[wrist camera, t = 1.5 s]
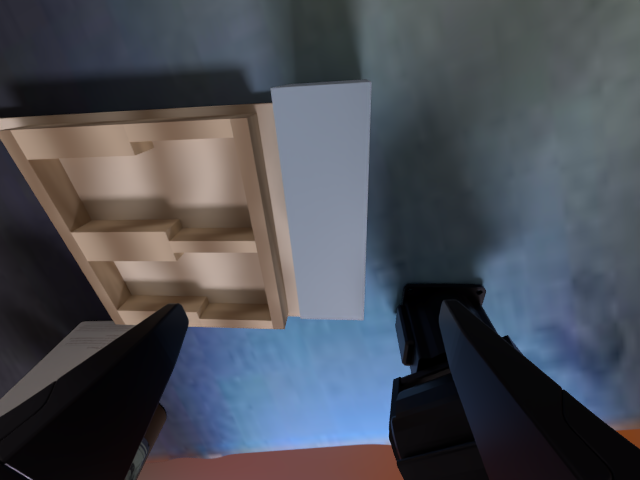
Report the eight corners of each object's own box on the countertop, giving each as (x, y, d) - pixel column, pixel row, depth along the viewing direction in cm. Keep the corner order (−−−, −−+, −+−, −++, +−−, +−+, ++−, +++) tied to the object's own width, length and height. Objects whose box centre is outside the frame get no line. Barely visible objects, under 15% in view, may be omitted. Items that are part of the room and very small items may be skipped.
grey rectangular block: (363, 78, 16) (371, 82, 11) (359, 260, 23) (363, 320, 17) (296, 82, 17) (270, 88, 11) (311, 260, 23) (300, 318, 18)
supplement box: (80, 319, 30) (-69, 457, 19) (142, 319, 29) (22, 463, 18) (112, 362, 34) (3, 498, 23) (169, 363, 33) (82, 505, 22)
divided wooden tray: (281, 102, 17) (271, 106, 15) (305, 311, 27) (302, 333, 24) (-1, 118, 19) (-46, 124, 17) (113, 307, 29) (93, 327, 26)
